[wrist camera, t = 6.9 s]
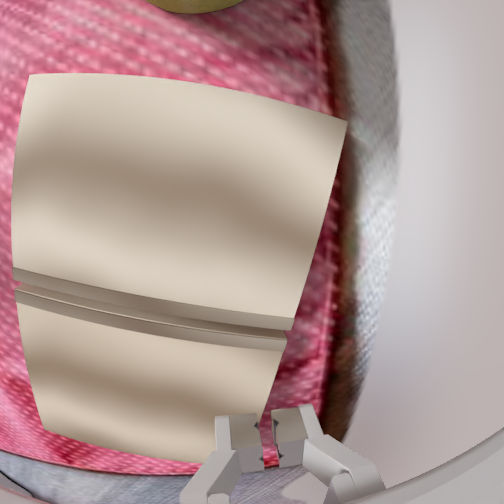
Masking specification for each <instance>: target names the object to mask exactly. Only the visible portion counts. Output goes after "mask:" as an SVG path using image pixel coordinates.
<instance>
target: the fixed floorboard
mask: <svg viewBox="0 0 504 504" xmlns="http://www.w3.org/2000/svg"><path fill="white" fill-rule="evenodd" d="M347 124H348V122H347V121H344V120H341V119H339V118H336V117H333V116H330V115H327V114H323V113H320V112H317V111H314V110H311V109H307V108H304V107H301V106H297V105H294V104H290V103H286V102H283V101H279V100H275V99H271V98H267V97H263V96H259V95H255V94H250V93H246V92H241V91H237V90H232V89H227V88H222V87H216V86H211V85H205V84H199V83H193V82H186V81H179V80H172V79H164V78H155V77H145V76H134V75H120V74H99V73H52V74H32V75H30V76H29V80H28V84H27V88H26V92H25V97H24V101H23V106H22V111H21V116H20V122H19V128H18V134H17V141H16V149H15V158H14V168H13V181H12V202H11V237H12V258H13V267H12V273H13V280H16V281H20V282H23V283H27V284H31V285H34V286H38V287H42V288H46V289H50V290H54V291H58V292H62V293H66V294H70V295H75V296H79V297H83V298H88V299H92V300H97V301H101V302H106V303H111V304H116V305H121V306H126V307H131V308H136V309H141V310H147V311H152V312H158V313H163V314H169V315H175V316H181V317H187V318H194V319H200V320H207V321H214V322H221V323H228V324H236V325H244V326H252V327H260V328H269V329H278V330H288V331H291V329H292V326H293V323H294V320H295V319H294V317H295V314H296V311H297V307H298V304H299V301H300V298H301V295H302V292H303V288H304V285H305V282H306V279H307V275H308V272H309V269H310V265H311V262H312V259H313V255H314V252H315V248H316V245H317V242H318V238H319V235H320V231H321V227H322V224H323V220H324V216H325V213H326V209H327V205H328V202H329V198H330V194H331V190H332V186H333V182H334V178H335V174H336V170H337V166H338V162H339V158H340V154H341V150H342V146H343V141H344V137H345V133H346V128H347Z"/></svg>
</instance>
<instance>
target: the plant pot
mask: <svg viewBox="0 0 504 504" xmlns="http://www.w3.org/2000/svg"><path fill="white" fill-rule="evenodd" d="M146 1H148V2H149V3H151V4H153V5H155V6H158V7H160V8H162V9H164V10H167V11H170V12H175V13H185V14H196V13H206V12H212V11H217V10H221V9H225V8H228V7H231V6H233V5H235V4H238V3H239V2H241V1H242V0H146Z"/></svg>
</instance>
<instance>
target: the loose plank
mask: <svg viewBox="0 0 504 504" xmlns="http://www.w3.org/2000/svg"><path fill="white" fill-rule="evenodd" d="M14 292H15V302H17V311H18V319H19V326H20V333H21V339H22V345H23V350H24V356H25V361H26V365H27V370H28V374H29V378H30V383H31V387H32V390H33V394H34V398H35V401H36V405H37V408H38V412H39V415H40V418H41V421H42V424H43V427H44V429H45V430H48V431H51V432H53V433H56V434H59V435H62V436H65V437H69V438H72V439H75V440H79V441H82V442H85V443H89V444H93V445H97V446H100V447H104V448H109V449H113V450H117V451H122V452H126V453H131V454H136V455H142V456H148V457H154V458H160V459H167V460H174V461H182V462H192V463H202V464H203V463H204V462H205V460H206V459H207V458H208V456H209V455H210V454H211V452H212V451H216V436H215V416H224V415H236V414H248V413H256V414H257V419H258V425H259V423H260V420H261V417H262V414H263V411H264V408H265V405H266V403H267V400H268V397H269V394H270V391H271V388H272V385H273V382H274V379H275V376H276V373H277V369H278V366H279V363H280V360H281V357H282V354H283V352H284V350H285V347H286V344H287V337H286V335H285V333H284V331H283V330H278V329H269V328H260V327H252V326H244V325H236V324H228V323H221V322H214V321H207V320H200V319H194V318H187V317H181V316H175V315H169V314H163V313H158V312H152V311H147V310H141V309H136V308H131V307H126V306H121V305H116V304H111V303H106V302H101V301H97V300H92V299H88V298H83V297H79V296H75V295H70V294H66V293H62V292H58V291H54V290H50V289H46V288H42V287H38V286H34V285H31V284H27V283H22V284H21V285H19V286H18V287H17V288H15V290H14Z"/></svg>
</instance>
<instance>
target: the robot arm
mask: <svg viewBox="0 0 504 504" xmlns="http://www.w3.org/2000/svg"><path fill="white" fill-rule="evenodd" d="M271 419H272V423H271V426H272V435H273V440H274V445H275V446H276V454H277V459H278V463H279V467H287V466H294V465H300V464H302V465H303V466H304V467H305V468H306V469H307V470H308V471H310V472H311V473H312V474H313V475H314V476H315V477H317V478H318V479H319V480H320V481H321V482H323V483H324V484H325V485H326V486H327V487H329V489H328V492H327V495H326V498H325V500H324V503H323V504H504V427H503V428H502V429H501V430H499V431H498V432H496V433H495V434H493V435H492V436H490V437H489V438H487V439H485V440H484V441H482V442H481V443H479V444H477V445H476V446H474V447H473V448H471V449H469V450H468V451H466V452H464V453H462V454H461V455H459V456H457V457H455V458H453V459H451V460H450V461H448V462H446V463H444V464H442V465H440V466H438V467H436V468H434V469H432V470H430V471H428V472H426V473H423V474H421V475H419V476H417V477H415V478H412V479H410V480H408V481H405V482H403V483H401V484H398V485H395V486H393V487H391V488H388V489H386V488H385V486H384V483H383V482H382V479H381V477H380V475H379V473H378V470H377V468H376V466H375V464H374V463H373V462H371V461H370V460H368V459H366V458H365V457H363V456H361V455H360V454H358V453H356V452H355V451H353V450H351V449H350V448H348V447H347V446H345V445H343V444H342V443H340V442H339V441H337V440H336V439H334V438H332V437H331V436H329V435H328V434H327V435H324V434H323V432H322V429H321V426H320V424H319V421H318V418H317V416H316V413H315V410H314V408H313V405H312V404H311V403H310V404H304V405H299V406H292V407H287V408H281V409H275V410H271ZM215 436H216V451H212V452H211V454H210V455H209V456H208V458H207V459H206V460H205V462H204V463H203V464H202V466H201V467H200V468H199V470H198V471H197V472H196V474H195V475H194V476H193V478H192V479H191V480H190V481H189V483H188V484H187V485H186V486H185V488H184V489H183V490H182V492H181V493H180V504H231V501H230V498H229V496H230V495H231V493H232V491H233V490H234V488H235V486H236V484H237V482H238V481H239V479H240V477H241V475H242V473H246V472H254V471H260V470H264V460H263V449H262V442H261V436H260V431H259V427H258V419H257V414H256V413H248V414H236V415H224V416H215ZM0 504H50V503H47V502H44V501H41V500H38V499H35V498H33V497H32V495H31V494H30V493H29V492H27V491H26V490H24V489H23V488H21V487H20V486H18V485H16V484H15V483H13V482H12V481H10V480H9V479H8V478H6V477H5V476H4V475H3V474H1V473H0Z"/></svg>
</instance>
